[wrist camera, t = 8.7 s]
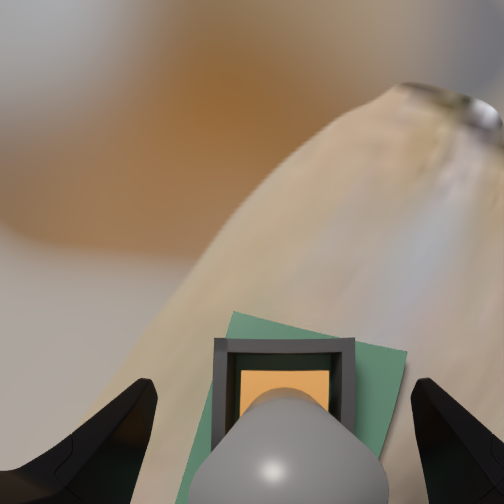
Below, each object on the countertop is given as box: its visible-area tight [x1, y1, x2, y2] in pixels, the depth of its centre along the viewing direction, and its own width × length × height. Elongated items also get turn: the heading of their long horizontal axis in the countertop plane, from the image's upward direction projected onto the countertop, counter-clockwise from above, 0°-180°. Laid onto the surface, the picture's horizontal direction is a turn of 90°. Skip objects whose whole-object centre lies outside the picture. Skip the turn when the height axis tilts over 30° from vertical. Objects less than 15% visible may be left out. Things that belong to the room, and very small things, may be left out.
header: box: [211, 338, 355, 452], centre depth 13 cm, size 7×6×3 cm
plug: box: [188, 370, 389, 504], centre depth 9 cm, size 4×4×12 cm
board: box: [175, 311, 407, 504], centre depth 13 cm, size 21×10×2 cm, turn 164°
